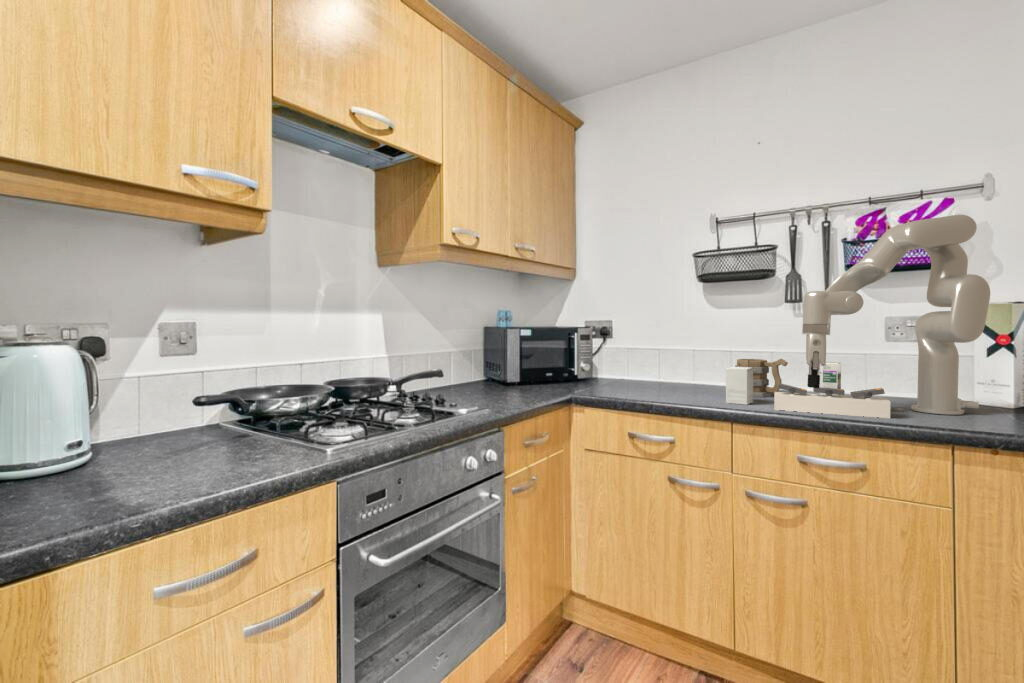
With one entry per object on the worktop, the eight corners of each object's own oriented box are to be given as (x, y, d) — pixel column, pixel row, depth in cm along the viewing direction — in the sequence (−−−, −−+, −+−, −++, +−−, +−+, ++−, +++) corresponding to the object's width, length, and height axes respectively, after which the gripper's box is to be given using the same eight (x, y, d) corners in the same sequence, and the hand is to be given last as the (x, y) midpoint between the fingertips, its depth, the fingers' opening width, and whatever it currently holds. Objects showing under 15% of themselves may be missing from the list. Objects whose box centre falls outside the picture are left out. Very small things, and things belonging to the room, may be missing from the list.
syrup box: (821, 403, 167) (821, 362, 167) (819, 401, 172) (819, 361, 172) (840, 405, 164) (841, 363, 164) (838, 402, 170) (839, 361, 169)
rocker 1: (804, 395, 156) (806, 389, 156) (805, 397, 153) (807, 390, 153) (777, 388, 160) (779, 382, 160) (777, 390, 157) (779, 383, 157)
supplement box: (753, 402, 171) (754, 367, 170) (747, 405, 165) (747, 368, 165) (732, 400, 176) (732, 366, 175) (724, 403, 170) (725, 367, 170)
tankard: (726, 394, 192) (727, 356, 191) (746, 391, 198) (747, 355, 197) (775, 401, 174) (776, 360, 174) (795, 398, 181) (796, 358, 180)
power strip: (901, 415, 146) (901, 397, 146) (907, 419, 139) (907, 401, 139) (774, 406, 163) (774, 390, 162) (774, 410, 156) (774, 393, 156)
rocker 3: (883, 394, 146) (881, 387, 147) (885, 395, 143) (883, 388, 143) (851, 398, 150) (850, 391, 150) (853, 400, 147) (851, 393, 147)
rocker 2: (842, 395, 151) (843, 389, 151) (844, 397, 148) (844, 390, 148) (813, 392, 155) (813, 386, 155) (813, 394, 152) (814, 387, 152)
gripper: (832, 330, 144) (829, 390, 145) (828, 330, 157) (825, 385, 158) (803, 329, 148) (800, 388, 149) (801, 329, 161) (799, 384, 162)
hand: (813, 387), depth 153 cm, fingers closed
